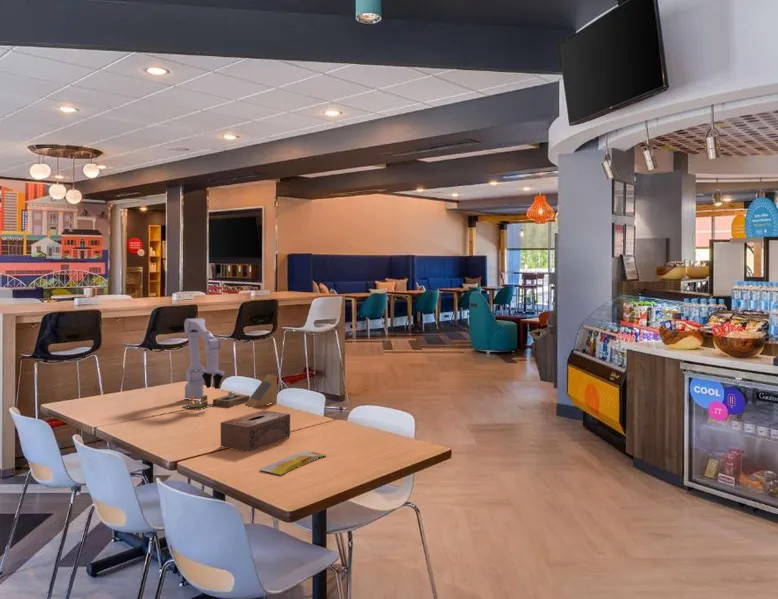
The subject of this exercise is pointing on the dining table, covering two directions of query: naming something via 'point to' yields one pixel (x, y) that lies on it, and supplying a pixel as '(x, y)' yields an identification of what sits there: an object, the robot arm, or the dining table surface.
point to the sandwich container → (264, 393)
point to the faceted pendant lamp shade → (199, 404)
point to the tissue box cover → (255, 430)
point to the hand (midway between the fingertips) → (212, 388)
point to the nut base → (197, 401)
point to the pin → (230, 395)
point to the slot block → (231, 400)
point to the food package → (291, 462)
